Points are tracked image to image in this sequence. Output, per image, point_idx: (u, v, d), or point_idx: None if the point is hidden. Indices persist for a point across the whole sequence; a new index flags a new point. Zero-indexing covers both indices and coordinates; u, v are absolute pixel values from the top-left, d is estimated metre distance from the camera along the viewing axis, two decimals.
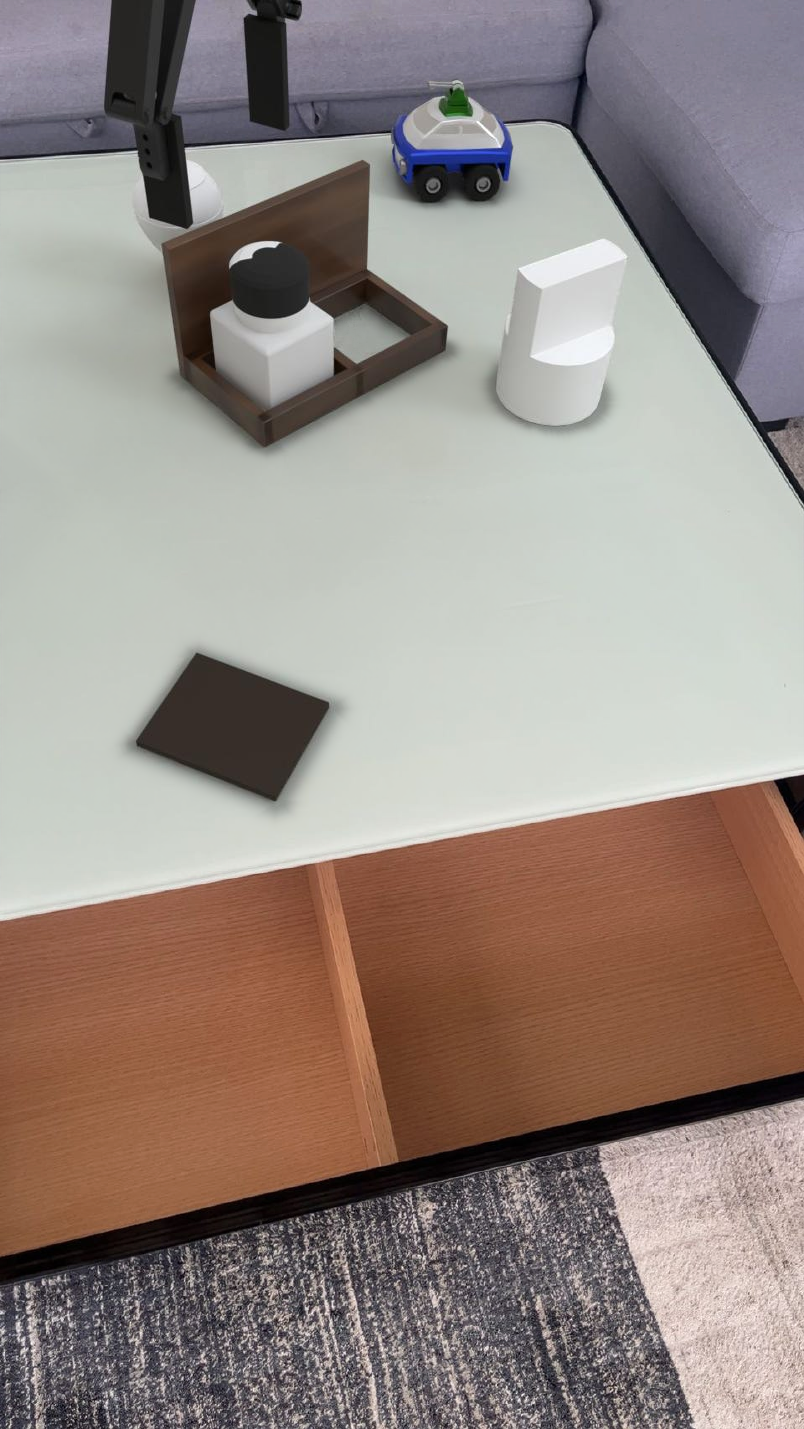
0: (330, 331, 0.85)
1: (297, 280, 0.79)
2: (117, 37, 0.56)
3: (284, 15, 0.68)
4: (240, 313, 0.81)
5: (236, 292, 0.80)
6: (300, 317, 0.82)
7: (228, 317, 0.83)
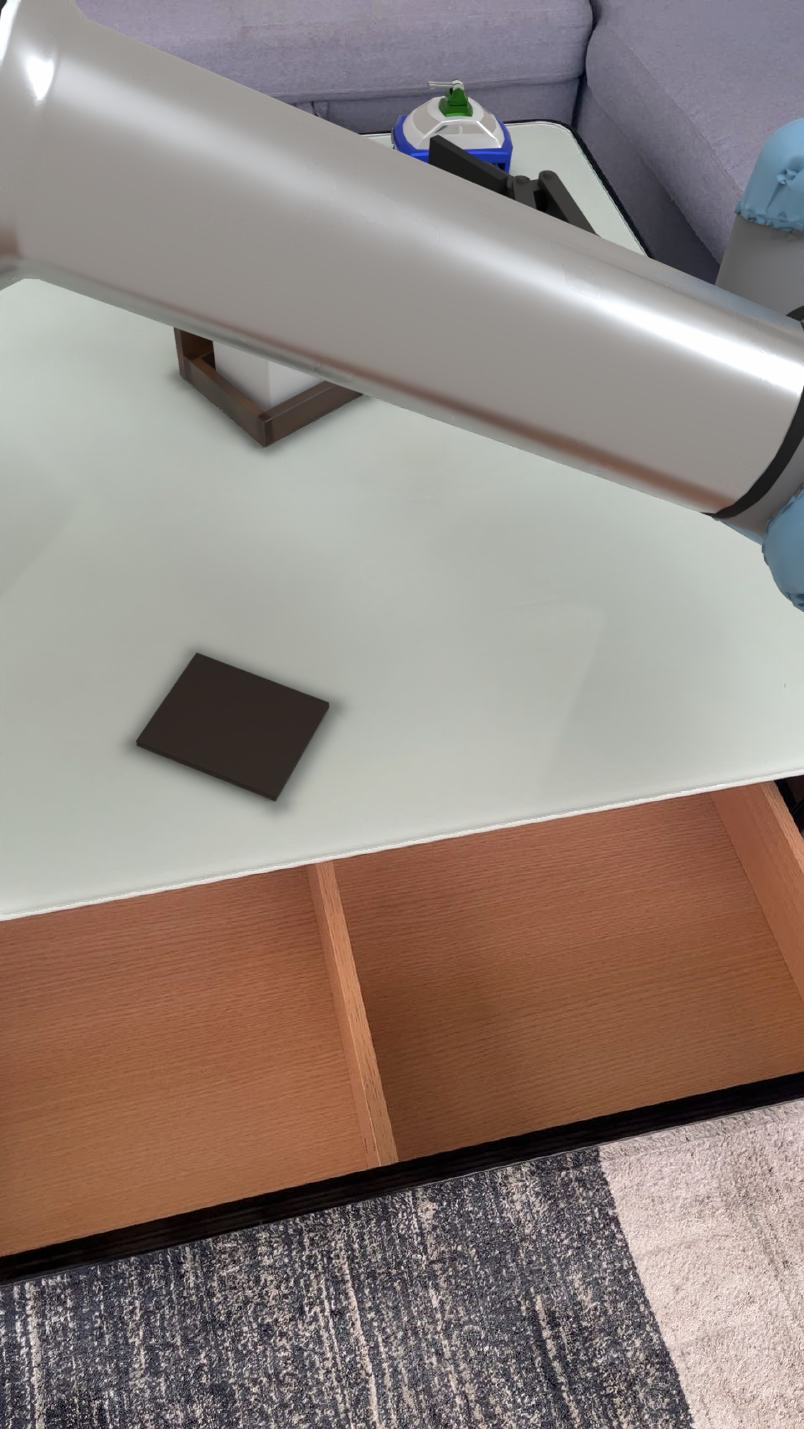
0: None
1: None
2: None
3: None
4: None
5: None
6: None
7: None
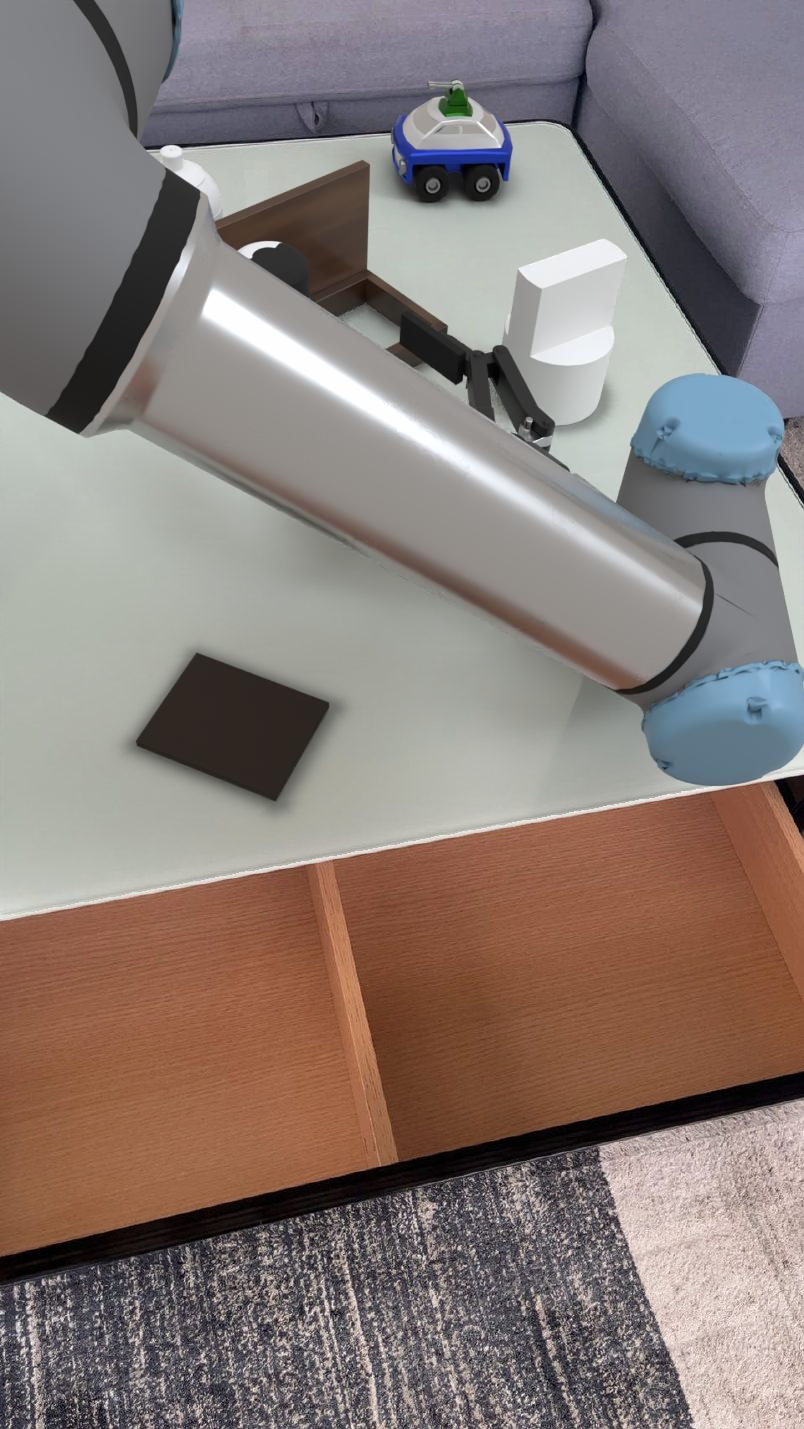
0: None
1: (297, 280, 0.79)
2: None
3: (467, 381, 0.82)
4: None
5: None
6: None
7: None
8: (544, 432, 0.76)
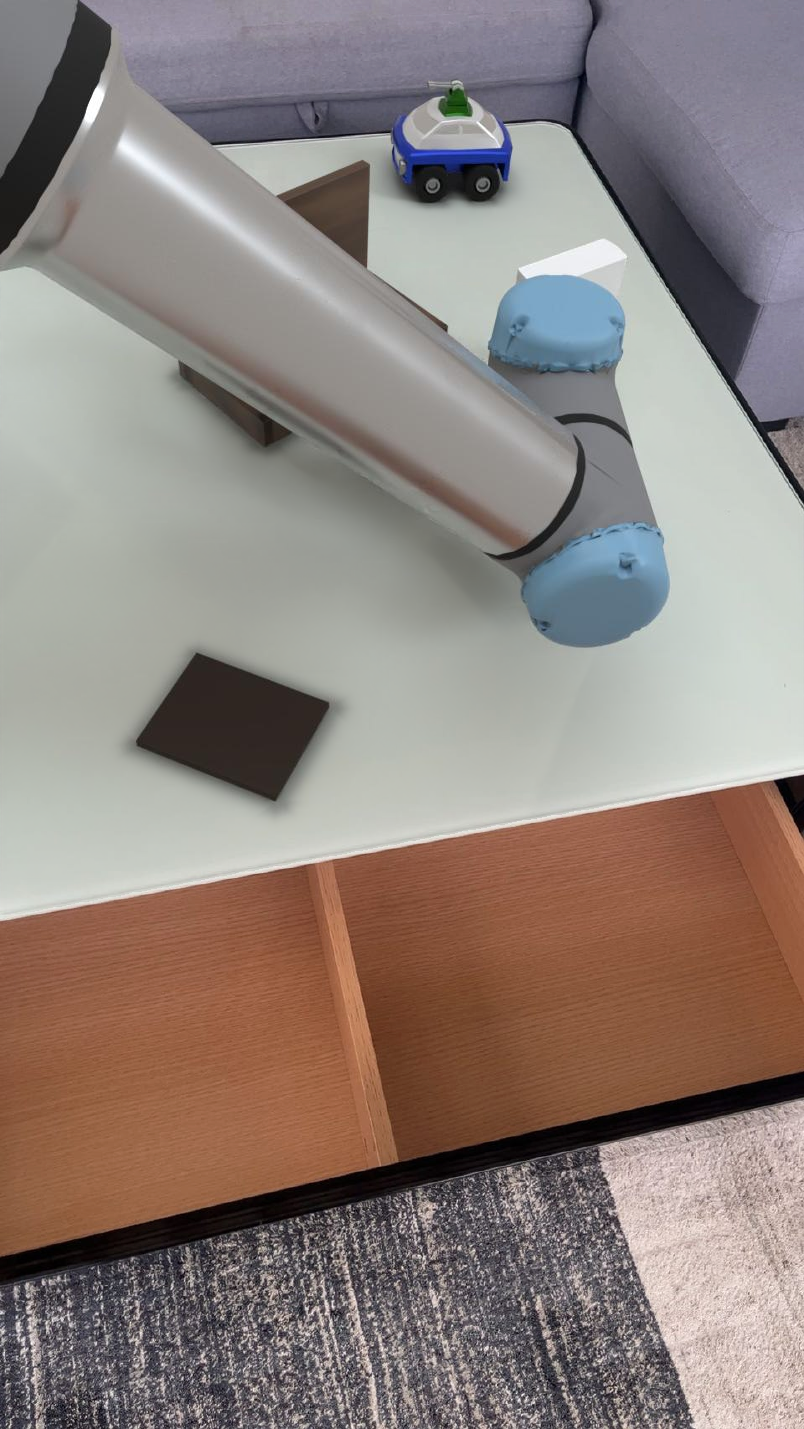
0: None
1: None
2: None
3: None
4: None
5: None
6: None
7: None
8: None
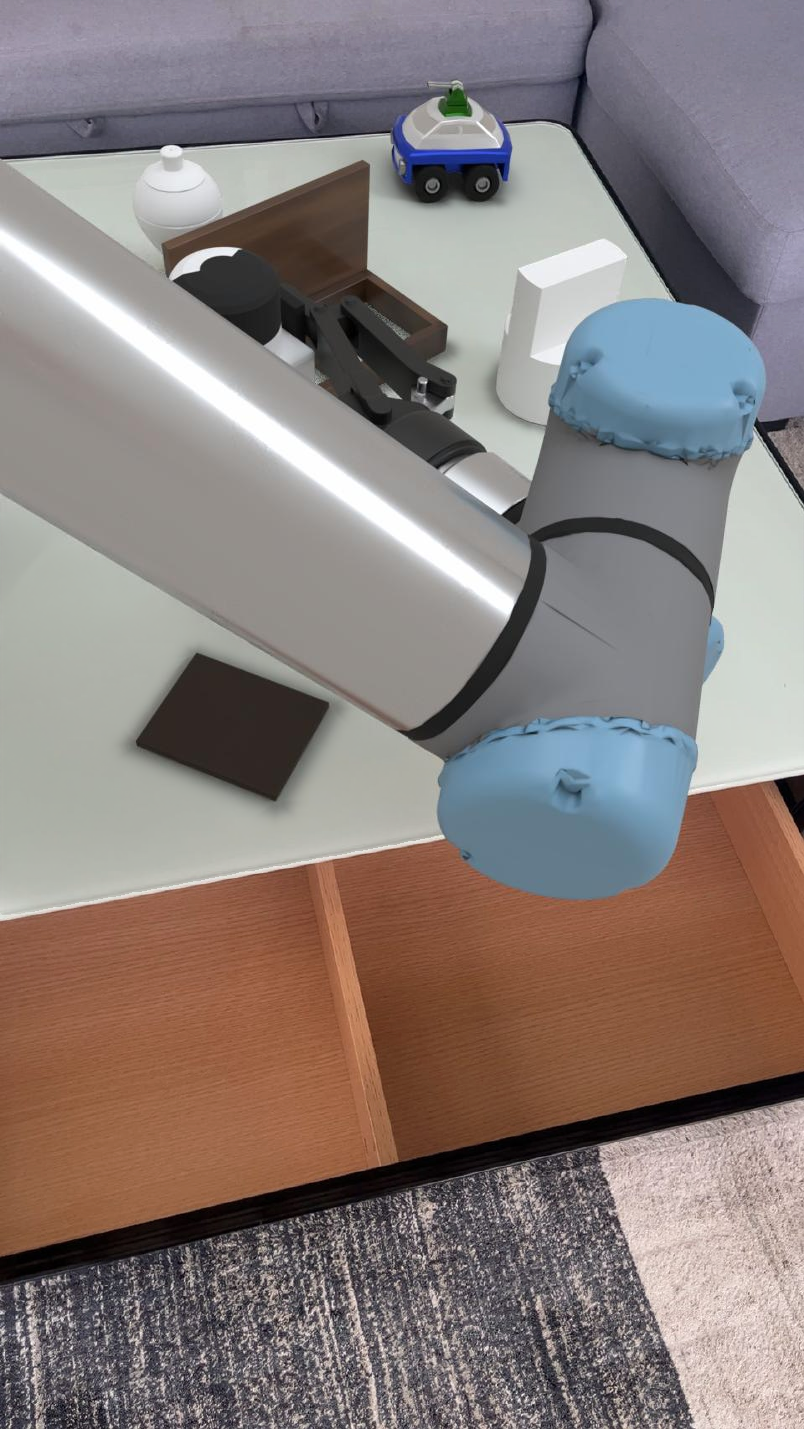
0: (310, 368, 0.62)
1: (262, 301, 0.57)
2: None
3: (312, 346, 0.63)
4: None
5: None
6: None
7: None
8: (446, 392, 0.58)
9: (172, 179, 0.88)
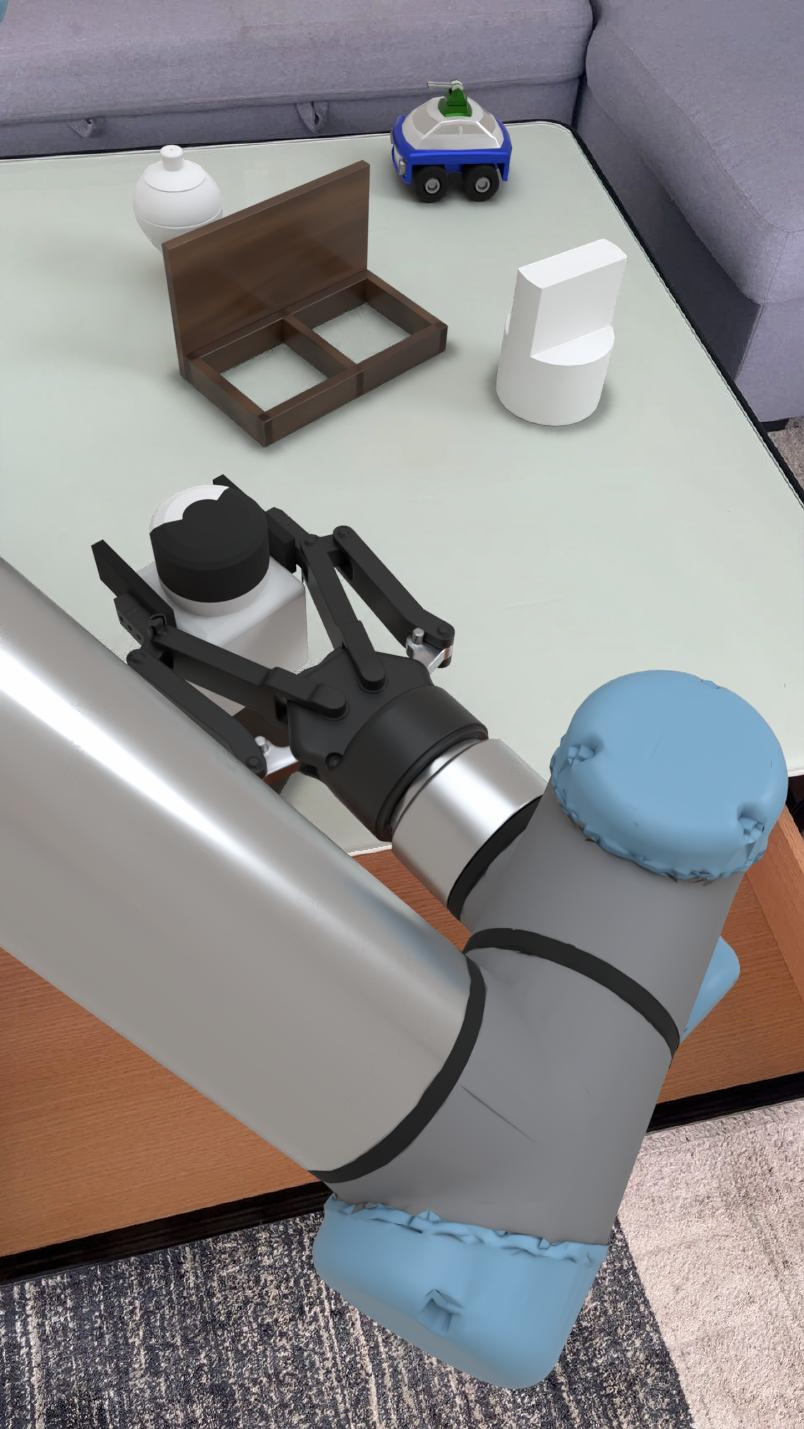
0: (300, 602, 0.59)
1: (248, 552, 0.54)
2: (175, 706, 0.52)
3: (303, 574, 0.60)
4: (167, 591, 0.56)
5: (159, 566, 0.55)
6: (255, 594, 0.56)
7: None
8: (443, 644, 0.55)
9: (172, 179, 0.88)
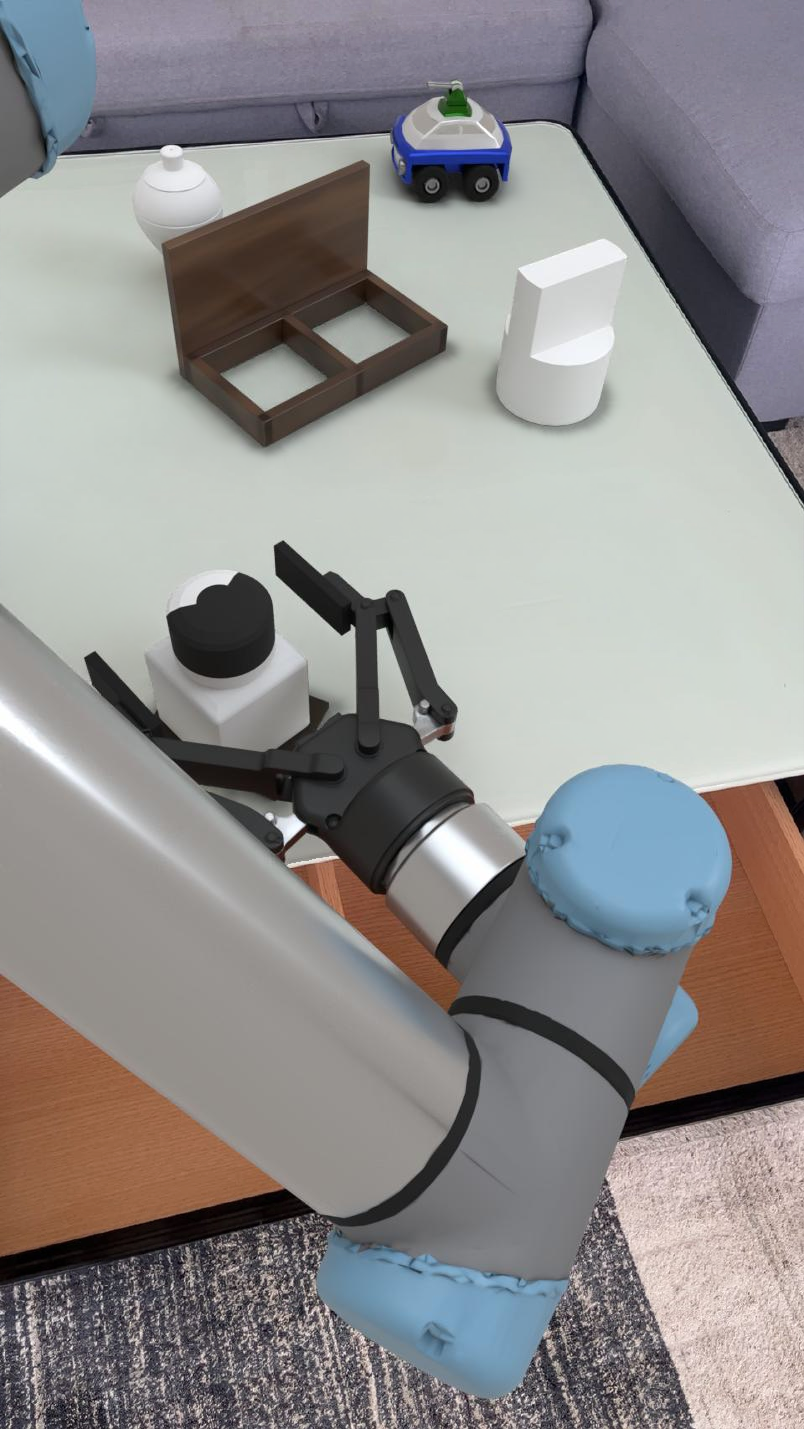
0: (303, 673, 0.64)
1: (255, 635, 0.59)
2: None
3: None
4: (182, 667, 0.61)
5: (175, 645, 0.60)
6: (261, 669, 0.62)
7: (168, 663, 0.63)
8: (444, 720, 0.59)
9: (172, 179, 0.88)
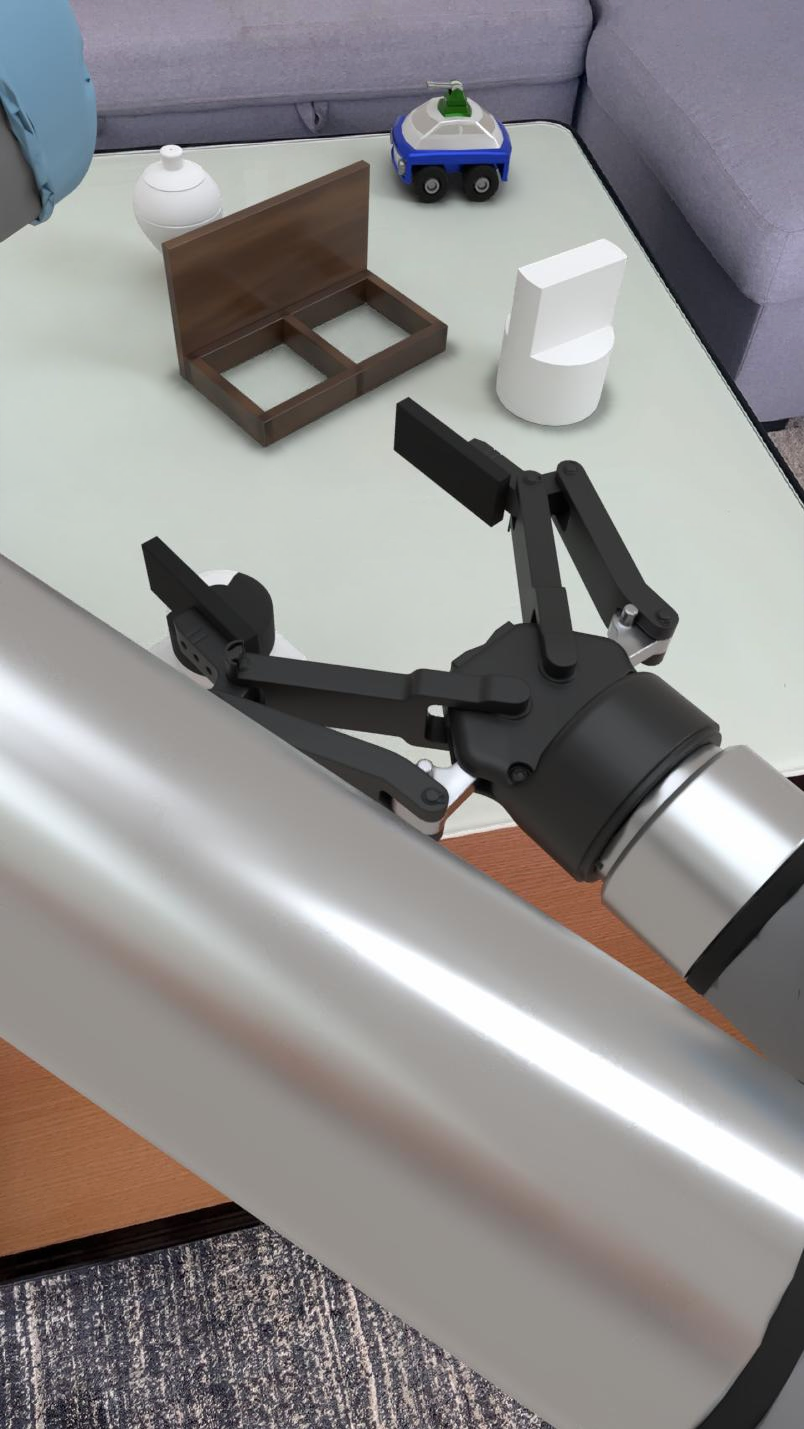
0: None
1: None
2: None
3: (511, 521, 0.47)
4: (182, 666, 0.61)
5: (175, 645, 0.60)
6: None
7: (168, 663, 0.63)
8: (659, 633, 0.41)
9: (172, 179, 0.88)
